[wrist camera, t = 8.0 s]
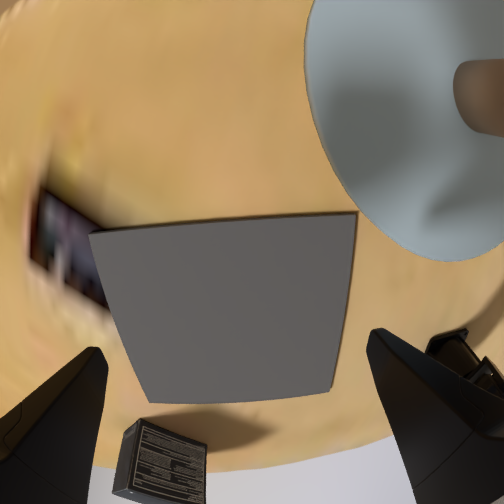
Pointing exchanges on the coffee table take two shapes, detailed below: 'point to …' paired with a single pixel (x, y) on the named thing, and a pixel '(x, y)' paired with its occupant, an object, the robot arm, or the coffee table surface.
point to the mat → (229, 305)
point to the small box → (160, 467)
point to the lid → (414, 116)
